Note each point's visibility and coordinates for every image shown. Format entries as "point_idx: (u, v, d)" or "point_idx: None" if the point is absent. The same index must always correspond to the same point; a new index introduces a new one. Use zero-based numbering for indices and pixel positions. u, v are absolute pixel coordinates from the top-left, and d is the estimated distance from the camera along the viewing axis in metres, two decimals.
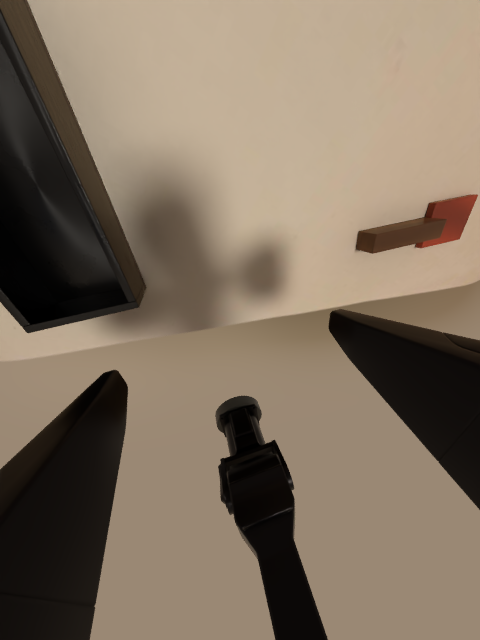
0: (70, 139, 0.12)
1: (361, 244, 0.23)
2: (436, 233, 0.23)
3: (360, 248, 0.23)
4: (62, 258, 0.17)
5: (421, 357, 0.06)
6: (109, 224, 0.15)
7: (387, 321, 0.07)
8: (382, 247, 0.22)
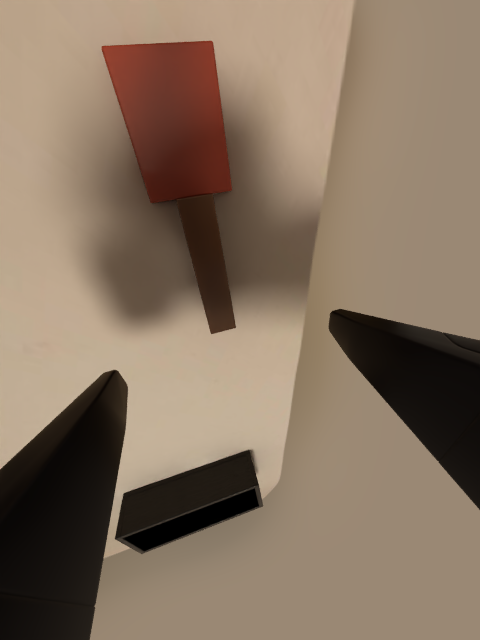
0: (177, 500, 0.27)
1: None
2: (204, 212, 0.11)
3: None
4: None
5: (421, 357, 0.06)
6: (212, 485, 0.27)
7: (387, 321, 0.07)
8: (228, 317, 0.15)
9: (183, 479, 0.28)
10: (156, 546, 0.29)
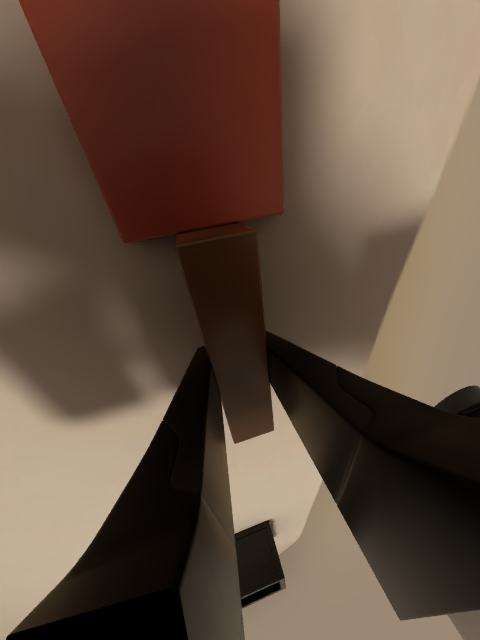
0: None
1: None
2: (237, 268, 0.05)
3: None
4: None
5: (307, 394, 0.05)
6: None
7: (295, 348, 0.06)
8: (263, 420, 0.09)
9: None
10: None
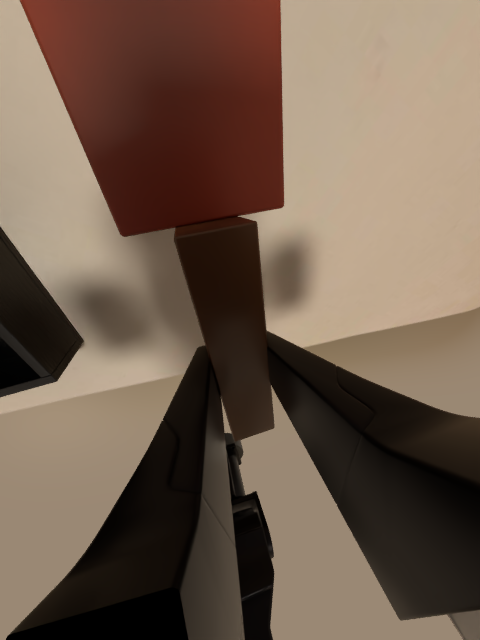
0: None
1: None
2: (237, 261, 0.05)
3: None
4: None
5: (307, 394, 0.05)
6: (3, 286, 0.11)
7: (295, 348, 0.06)
8: (264, 418, 0.09)
9: None
10: None
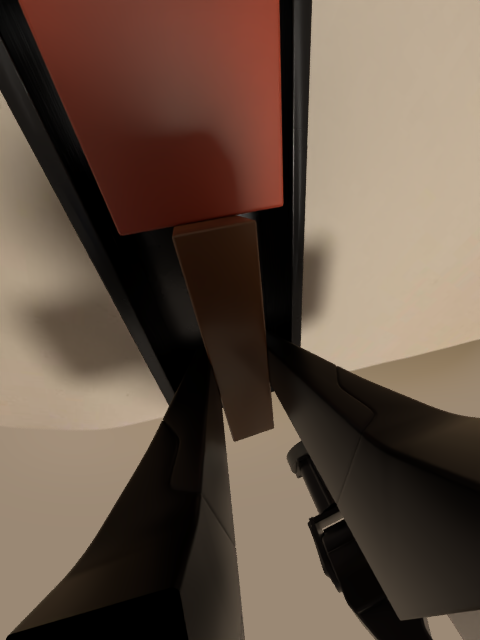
0: None
1: None
2: (235, 260, 0.05)
3: None
4: None
5: (307, 394, 0.05)
6: None
7: (295, 348, 0.06)
8: (263, 417, 0.09)
9: None
10: None
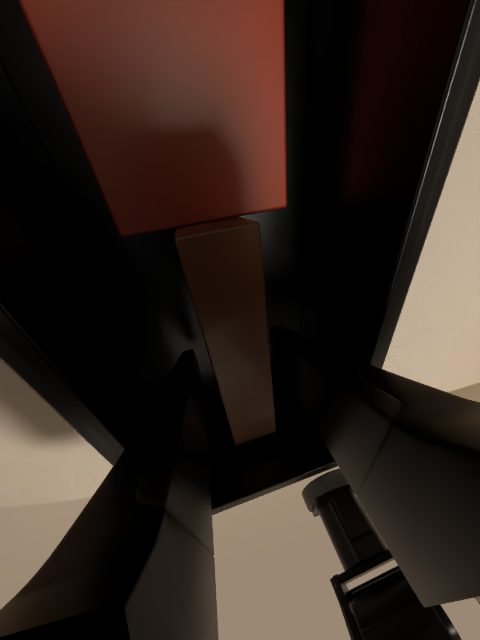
0: None
1: None
2: (239, 263, 0.05)
3: None
4: None
5: (330, 387, 0.05)
6: None
7: (313, 342, 0.07)
8: (265, 421, 0.09)
9: None
10: None
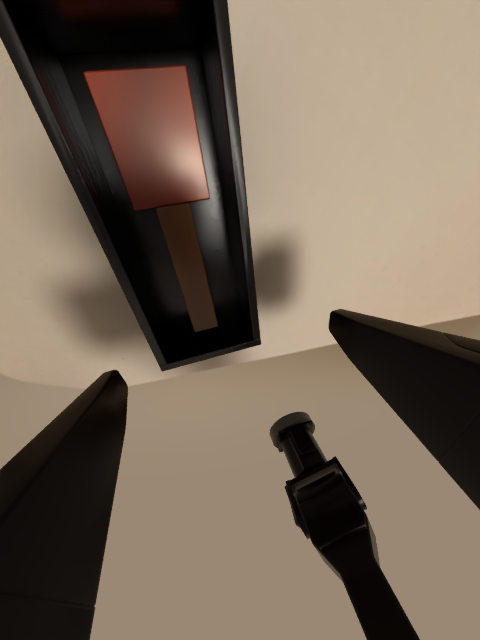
0: None
1: None
2: (182, 220, 0.12)
3: None
4: None
5: (421, 357, 0.06)
6: None
7: (387, 321, 0.07)
8: (210, 316, 0.16)
9: None
10: (27, 60, 0.07)
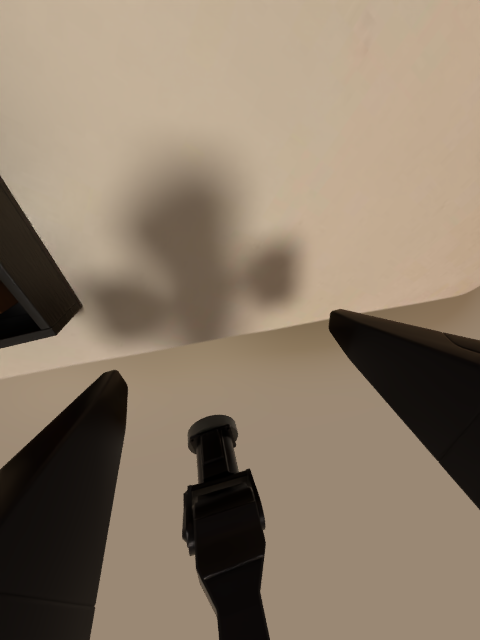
0: None
1: None
2: None
3: (16, 302, 0.15)
4: None
5: (421, 357, 0.06)
6: (7, 237, 0.12)
7: (387, 321, 0.07)
8: None
9: None
10: None
